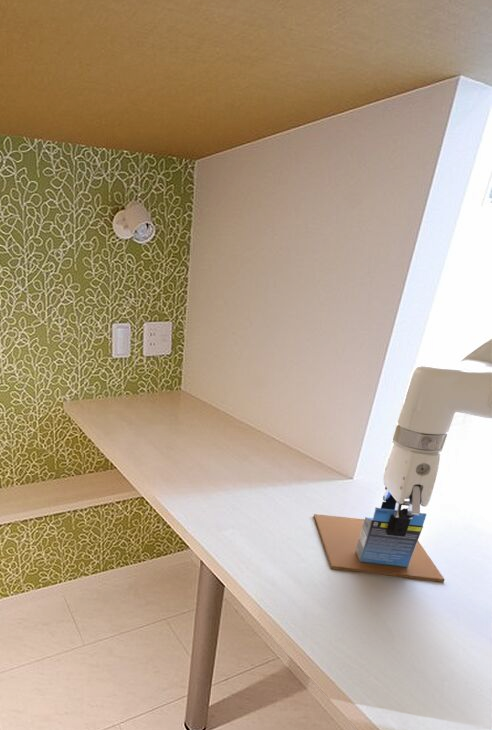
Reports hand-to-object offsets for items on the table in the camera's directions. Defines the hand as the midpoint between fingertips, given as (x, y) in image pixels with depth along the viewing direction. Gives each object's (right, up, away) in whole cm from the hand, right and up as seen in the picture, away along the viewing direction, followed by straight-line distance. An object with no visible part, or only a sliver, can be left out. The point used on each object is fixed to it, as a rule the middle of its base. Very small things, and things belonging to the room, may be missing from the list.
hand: (391, 526), depth 82 cm
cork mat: (+1, -5, +9) cm, 10 cm away
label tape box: (0, -7, +3) cm, 8 cm away
